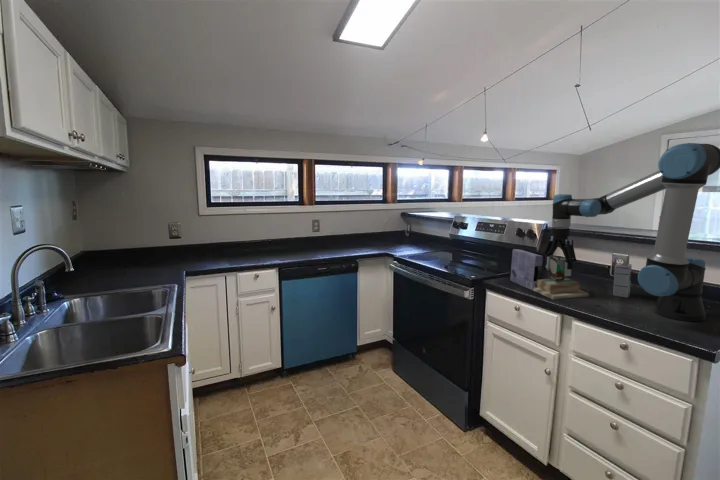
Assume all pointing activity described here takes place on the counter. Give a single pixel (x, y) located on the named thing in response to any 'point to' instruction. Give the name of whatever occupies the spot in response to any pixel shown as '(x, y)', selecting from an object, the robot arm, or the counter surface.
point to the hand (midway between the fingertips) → (558, 272)
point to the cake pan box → (526, 268)
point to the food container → (557, 267)
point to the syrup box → (622, 280)
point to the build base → (562, 295)
